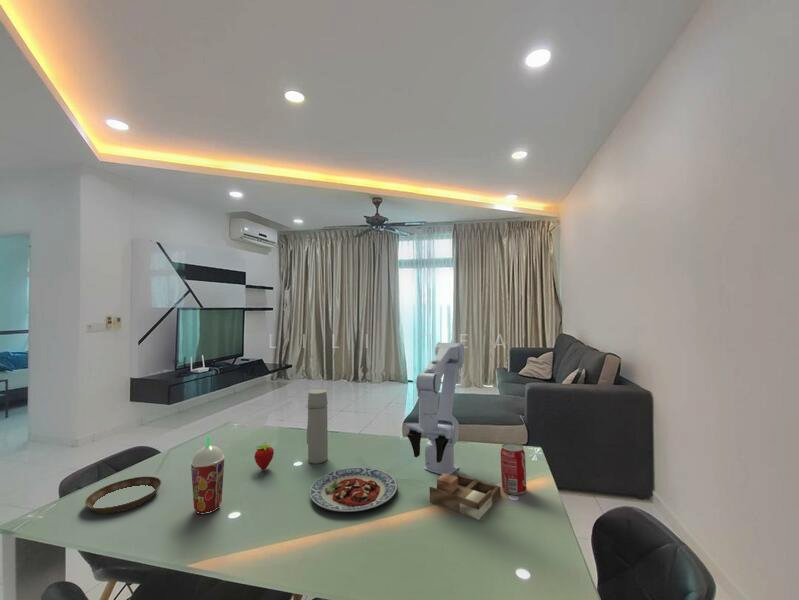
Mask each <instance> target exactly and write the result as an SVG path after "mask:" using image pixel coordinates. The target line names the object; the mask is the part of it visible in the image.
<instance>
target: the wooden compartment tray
mask: <svg viewBox="0 0 799 600" xmlns="http://www.w3.org/2000/svg"><path fill="white" fill-rule="evenodd" d="M451 475H452V476H455V477H458V488H457V489H456V490H455V491H454V492H453V493H448V492H445V491H442V490H439V489H437V486H436V487H433V486H429V503H432V502H433V503H432V504H434V505H438V506H440V507H443V506H444V508H446V509H448V508H449V510H451V509H452V511H455V512H456V513H459V512H460V513H459V514H463V515H465V516H468V517H471V518H473V519H475V520H480V519H481V518H482V517H483V516H484V514H486V513H487V511H488V510H489V509H490V508H491V507H492V506H493V505H494V503H496V501H497V500H498V499H499V498H500V496H501V491H502V490H501V485H500V486H499V485H498V484H497V485H496V484H493V483H491V482H490V483H489V482H487V481H483V480H480V479H477V478H474V477H473V478H472V477H469V476H466V475H464V474H460V473H456V472H453V473H452V474H451Z"/></svg>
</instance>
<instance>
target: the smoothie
mask: <svg viewBox="0 0 799 600" xmlns="http://www.w3.org/2000/svg"><path fill="white" fill-rule="evenodd" d="M225 458H226V456H225V454H224V453H223V451H222V449H221V448H220V447H218V446H216V445H213V444H212V445H211V444H210V435H207V436H206V446H202V447H201V448H199V449H198V451H196V452H195V454H194V456H193V457H192V459H191V460H190V468H191V483H192V497H193V498H192V499H193V508H194V510H195V512H196V511H197V512H199V513H206V512H210V511H213V510H215V509H216V508H218V507H219V508H220V506H219V505H221V503H222V501H223V489H224V488H223V485H224V471H225ZM219 508H218V509H219ZM215 511H216V510H215ZM197 512H196V513H197Z"/></svg>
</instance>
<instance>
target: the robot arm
mask: <svg viewBox="0 0 799 600" xmlns="http://www.w3.org/2000/svg"><path fill="white" fill-rule="evenodd" d="M434 349H435V350H434V352H435V353H434V354H435V358H434V359H432V360H430V362H429V363H428V365H426V368H425V369H424V371H423V372H420V373H418V374H417V377H416V381H415V385H416V391H417V397H418V423H407V424H406V425H405V427H406V429H405V430H406V431H407V432H408V433H407V434H406V435H407V438H408V440H409V442H410V445H411V447H412V452H413V456H414V458H418V457H419V456H420V455H421V438H422V434H423V435H424V434H426V436H427V439H428V441H427V442H426V445H425V449H424V458H425V459H424V462H425V463H424V465H425V466H424V468H423V469H424V470H425V471H429V472H433V473H436V474H438V475H439V474H440V475H443V474H444V473H446V474H449V475H453V474H454V473H455V472H456V471H457V470H459V468H460V466H458V465H455V445H456V444H457V442H458V440H459V435H460V431H459V429H460V427H459V425H460V424H459V421H458V419H457V418H456V417H455V416H454V415H453V409H454V402H455V401H454V399H455V393H456V392H455V391H456V386H457V384H456V383H457V376H458V372H459V370H460V369H462V368H463V367H464V361H465V345H464V343H463V342H459V343H458V342H439V341H438V342H437V343H436V345H435V348H434ZM440 391H441V392H440ZM439 392H440V398H439Z"/></svg>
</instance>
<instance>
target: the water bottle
mask: <svg viewBox="0 0 799 600" xmlns="http://www.w3.org/2000/svg"><path fill="white" fill-rule="evenodd" d="M328 404H329V402H328V394H327V390H326V389H312V390H309V391H308V397H307V404H306V405H305V408H307V425H306V426H307V427H306V445H307V460H308V462H309V463H310V464H314V465H315V464H323V463H324V462H326V461H327V460H328V458H329V456H328V452H329V451H328V449H329V448H328V445H329V443H328V441H329V439H328Z"/></svg>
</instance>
